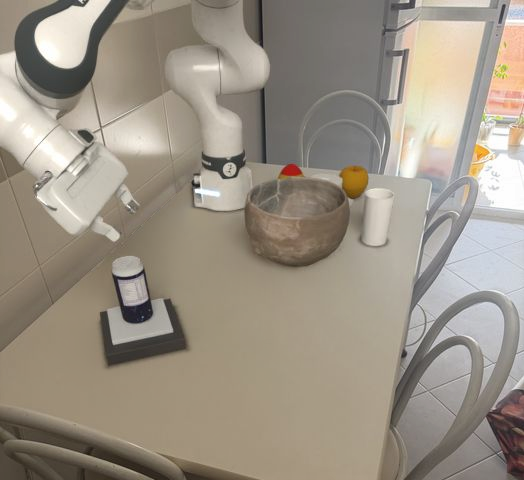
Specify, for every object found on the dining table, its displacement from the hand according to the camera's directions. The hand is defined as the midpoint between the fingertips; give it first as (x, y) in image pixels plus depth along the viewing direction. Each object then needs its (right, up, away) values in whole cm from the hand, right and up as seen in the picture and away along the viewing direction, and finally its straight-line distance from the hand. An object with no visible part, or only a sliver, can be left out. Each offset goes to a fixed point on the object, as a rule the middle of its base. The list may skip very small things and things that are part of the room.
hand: (128, 223), depth 83 cm
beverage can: (-1, -16, +10) cm, 19 cm away
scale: (0, -18, +11) cm, 22 cm away
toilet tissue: (+40, +17, +52) cm, 68 cm away
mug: (+51, +7, +40) cm, 66 cm away
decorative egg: (+31, +22, +60) cm, 71 cm away
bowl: (+30, +1, +35) cm, 46 cm away
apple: (+49, +23, +60) cm, 81 cm away
